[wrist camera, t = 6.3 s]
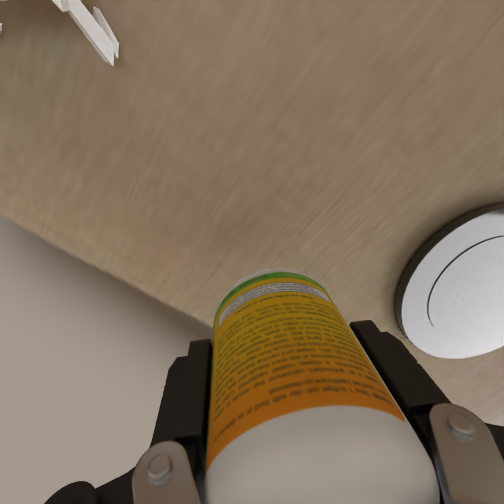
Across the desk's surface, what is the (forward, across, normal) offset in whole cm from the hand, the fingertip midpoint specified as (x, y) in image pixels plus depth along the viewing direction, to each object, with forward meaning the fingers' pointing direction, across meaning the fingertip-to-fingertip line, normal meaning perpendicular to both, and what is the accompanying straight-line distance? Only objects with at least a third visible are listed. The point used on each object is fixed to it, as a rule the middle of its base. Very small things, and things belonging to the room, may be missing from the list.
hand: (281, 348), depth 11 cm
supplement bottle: (+2, 0, 0) cm, 2 cm away
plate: (+12, -21, +7) cm, 25 cm away
